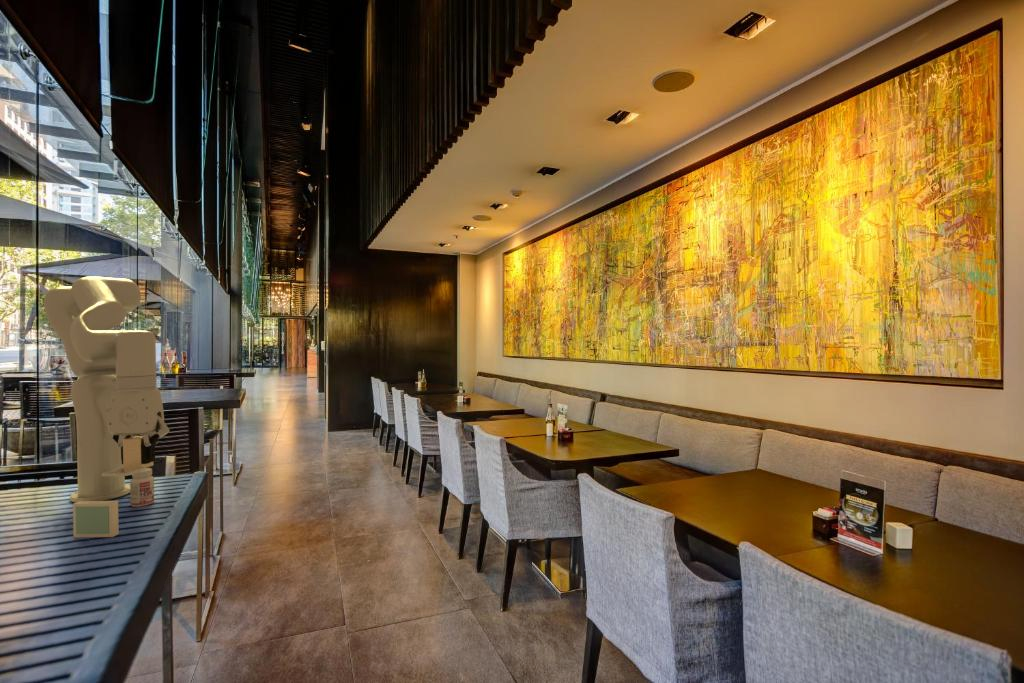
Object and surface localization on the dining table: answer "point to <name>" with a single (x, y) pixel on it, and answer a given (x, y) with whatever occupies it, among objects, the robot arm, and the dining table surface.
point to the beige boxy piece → (131, 458)
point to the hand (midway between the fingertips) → (138, 462)
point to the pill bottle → (142, 488)
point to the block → (95, 519)
